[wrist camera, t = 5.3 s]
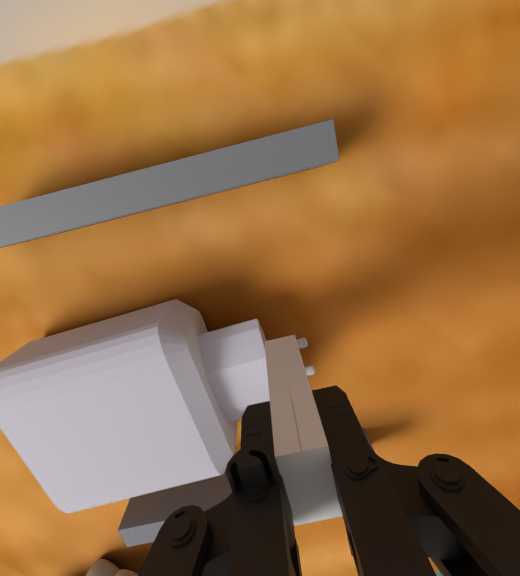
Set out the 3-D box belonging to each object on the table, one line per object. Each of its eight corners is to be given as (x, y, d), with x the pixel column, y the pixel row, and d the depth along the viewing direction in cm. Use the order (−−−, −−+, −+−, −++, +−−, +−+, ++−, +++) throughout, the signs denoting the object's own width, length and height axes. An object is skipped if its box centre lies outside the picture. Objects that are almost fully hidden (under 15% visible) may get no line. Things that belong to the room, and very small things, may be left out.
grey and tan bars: (311, 112, 15) (328, 89, 11) (368, 457, 21) (390, 506, 18) (-318, 278, 16) (-465, 301, 13) (-80, 550, 23) (-136, 611, 20)
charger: (320, 395, 20) (107, 451, 21) (283, 263, 17) (38, 335, 18) (340, 456, 15) (67, 524, 16) (295, 289, 12) (-33, 384, 13)
